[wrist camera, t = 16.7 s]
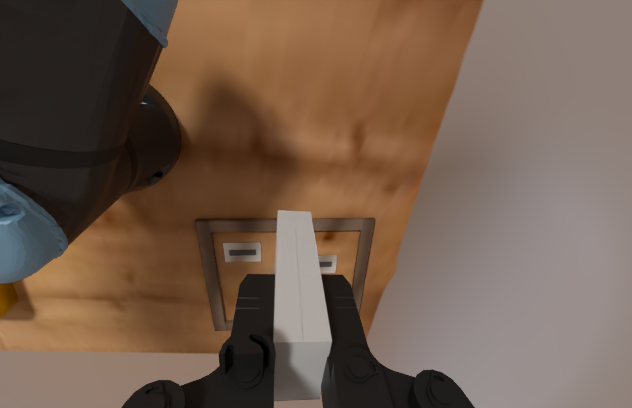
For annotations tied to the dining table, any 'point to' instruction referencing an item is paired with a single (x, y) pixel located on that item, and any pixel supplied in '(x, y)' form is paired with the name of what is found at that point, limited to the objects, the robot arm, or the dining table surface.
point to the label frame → (253, 253)
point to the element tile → (7, 297)
